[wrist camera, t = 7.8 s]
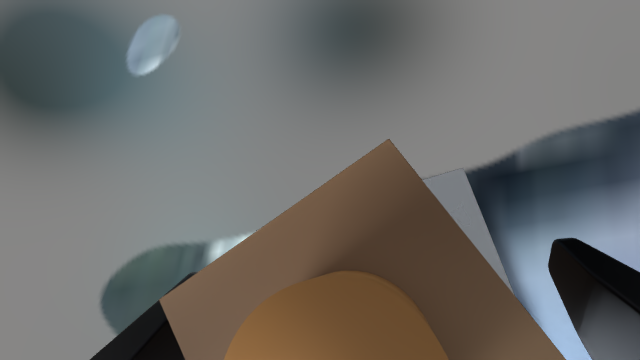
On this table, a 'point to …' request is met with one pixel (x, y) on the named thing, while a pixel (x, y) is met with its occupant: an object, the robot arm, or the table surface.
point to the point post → (356, 282)
